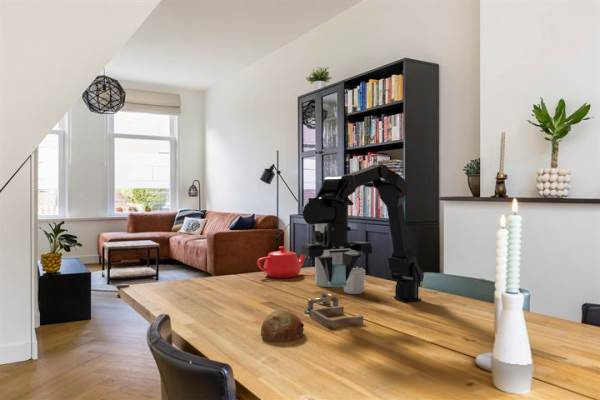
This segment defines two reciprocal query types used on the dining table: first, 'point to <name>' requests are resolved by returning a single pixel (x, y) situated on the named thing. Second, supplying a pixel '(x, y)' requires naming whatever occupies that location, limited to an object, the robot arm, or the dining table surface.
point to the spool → (338, 276)
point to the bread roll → (282, 327)
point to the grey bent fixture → (322, 301)
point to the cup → (355, 281)
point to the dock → (333, 323)
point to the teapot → (281, 264)
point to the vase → (319, 271)
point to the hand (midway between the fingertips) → (337, 281)
